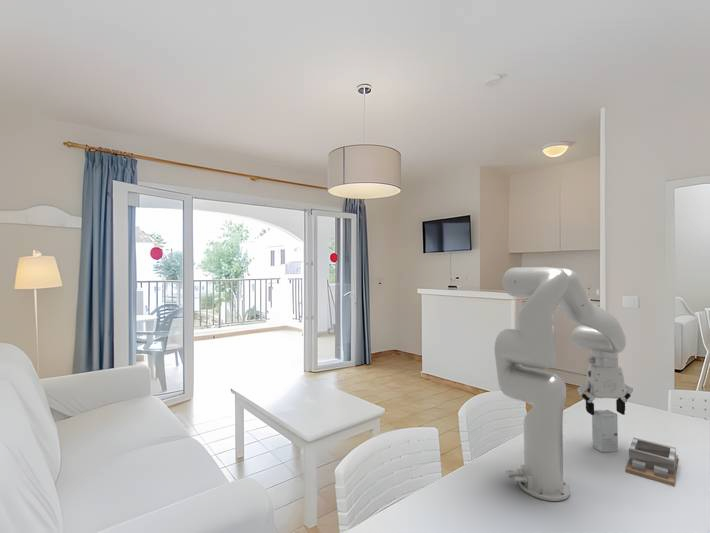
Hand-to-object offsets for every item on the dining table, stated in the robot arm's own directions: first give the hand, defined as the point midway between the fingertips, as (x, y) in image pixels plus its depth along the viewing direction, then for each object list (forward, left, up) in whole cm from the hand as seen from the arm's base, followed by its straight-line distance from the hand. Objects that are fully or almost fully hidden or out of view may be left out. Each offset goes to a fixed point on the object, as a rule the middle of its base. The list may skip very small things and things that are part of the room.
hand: (605, 413), depth 125 cm
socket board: (+7, -10, -12) cm, 17 cm away
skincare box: (-1, 0, -12) cm, 12 cm away
